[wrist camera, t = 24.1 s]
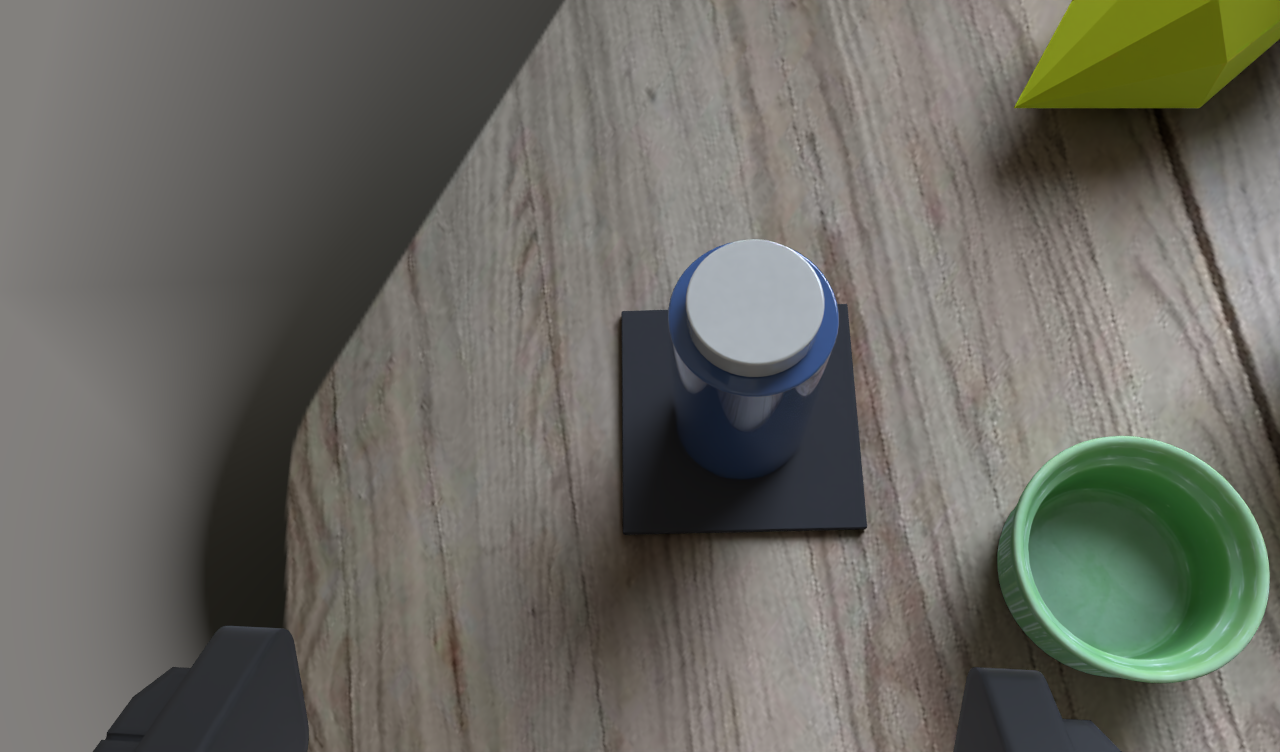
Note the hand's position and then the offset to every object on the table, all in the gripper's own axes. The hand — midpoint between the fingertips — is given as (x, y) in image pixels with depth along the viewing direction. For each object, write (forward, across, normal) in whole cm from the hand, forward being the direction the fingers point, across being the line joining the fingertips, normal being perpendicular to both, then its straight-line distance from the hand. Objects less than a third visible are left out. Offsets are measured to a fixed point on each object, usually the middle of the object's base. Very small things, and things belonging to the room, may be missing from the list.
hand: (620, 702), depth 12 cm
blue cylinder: (+30, -2, +11) cm, 32 cm away
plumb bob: (+45, -24, -3) cm, 51 cm away
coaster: (+30, -2, +12) cm, 32 cm away
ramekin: (+26, -17, +16) cm, 35 cm away
